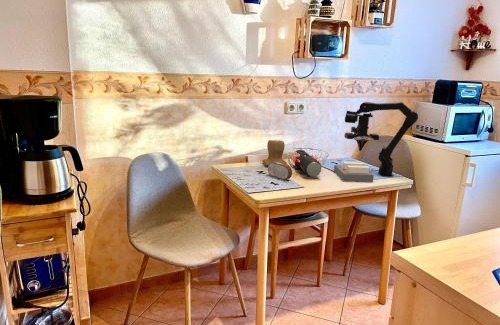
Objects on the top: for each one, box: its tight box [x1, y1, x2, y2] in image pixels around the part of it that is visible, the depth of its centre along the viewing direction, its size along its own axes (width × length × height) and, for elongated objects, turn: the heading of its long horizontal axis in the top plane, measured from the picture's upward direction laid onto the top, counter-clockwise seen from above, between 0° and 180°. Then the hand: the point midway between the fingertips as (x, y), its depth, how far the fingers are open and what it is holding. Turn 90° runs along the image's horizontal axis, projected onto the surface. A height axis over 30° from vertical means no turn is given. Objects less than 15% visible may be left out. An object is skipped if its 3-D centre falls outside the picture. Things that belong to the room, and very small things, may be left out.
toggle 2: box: [347, 165, 370, 173], centre depth 200 cm, size 11×3×3 cm, turn 93°
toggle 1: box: [342, 161, 365, 169], centre depth 208 cm, size 11×3×3 cm, turn 93°
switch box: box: [333, 164, 375, 183], centre depth 208 cm, size 16×19×4 cm
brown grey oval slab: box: [267, 161, 293, 181], centre depth 199 cm, size 15×3×8 cm, turn 47°
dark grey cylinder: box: [294, 149, 322, 178], centre depth 212 cm, size 10×28×10 cm, turn 8°
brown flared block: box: [262, 139, 287, 166], centre depth 225 cm, size 15×12×15 cm
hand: (359, 150), depth 218 cm, fingers closed
